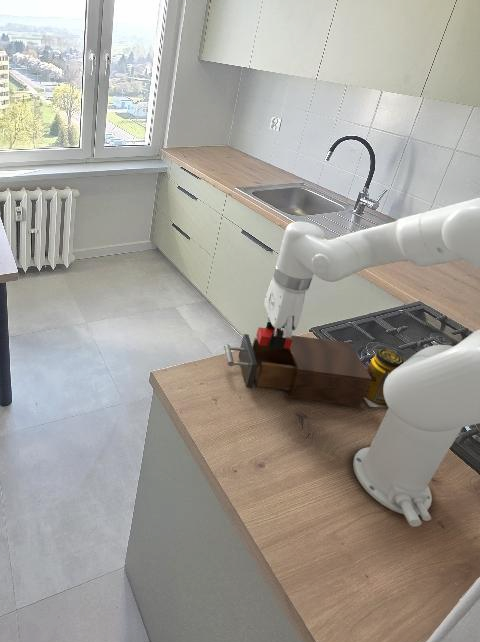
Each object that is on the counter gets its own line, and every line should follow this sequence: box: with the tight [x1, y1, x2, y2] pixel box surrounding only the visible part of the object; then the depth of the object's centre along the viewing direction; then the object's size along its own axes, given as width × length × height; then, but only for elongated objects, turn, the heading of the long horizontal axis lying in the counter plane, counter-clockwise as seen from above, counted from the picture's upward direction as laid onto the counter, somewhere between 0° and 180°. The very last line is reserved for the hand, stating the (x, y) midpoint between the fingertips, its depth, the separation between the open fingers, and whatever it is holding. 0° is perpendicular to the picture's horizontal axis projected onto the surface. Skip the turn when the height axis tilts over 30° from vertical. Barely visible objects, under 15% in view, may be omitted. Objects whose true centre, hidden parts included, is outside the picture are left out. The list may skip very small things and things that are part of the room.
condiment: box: [363, 348, 405, 408], centre depth 97 cm, size 7×8×12 cm
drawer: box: [223, 333, 297, 391], centre depth 101 cm, size 19×10×7 cm, turn 83°
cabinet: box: [286, 335, 372, 409], centre depth 100 cm, size 16×12×9 cm
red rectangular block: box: [255, 326, 292, 349], centre depth 98 cm, size 7×3×3 cm, turn 83°
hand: (273, 341), depth 98 cm, fingers closed on red rectangular block, 3 cm apart
